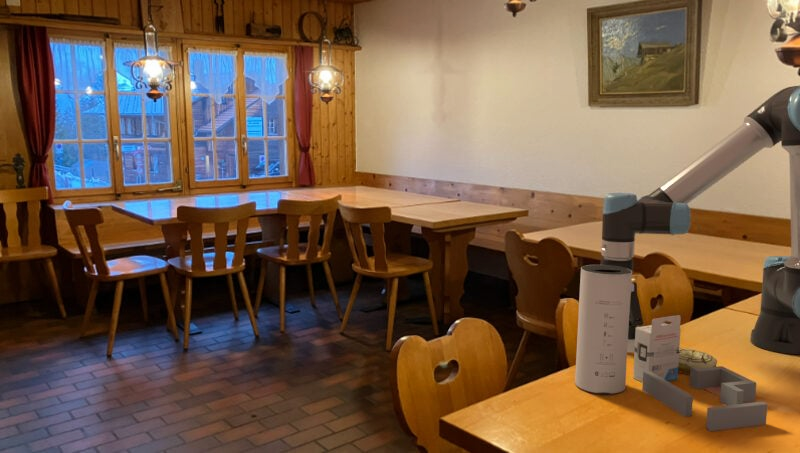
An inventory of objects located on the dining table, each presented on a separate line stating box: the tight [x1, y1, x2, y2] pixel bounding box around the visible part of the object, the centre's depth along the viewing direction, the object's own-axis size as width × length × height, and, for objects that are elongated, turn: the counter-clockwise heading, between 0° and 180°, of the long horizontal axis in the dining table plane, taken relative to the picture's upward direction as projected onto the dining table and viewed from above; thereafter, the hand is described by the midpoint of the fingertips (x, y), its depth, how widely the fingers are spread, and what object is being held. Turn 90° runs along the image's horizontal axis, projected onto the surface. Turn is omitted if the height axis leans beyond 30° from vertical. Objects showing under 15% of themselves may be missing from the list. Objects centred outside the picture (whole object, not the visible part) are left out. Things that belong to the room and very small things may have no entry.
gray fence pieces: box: [641, 365, 768, 432], centre depth 137 cm, size 18×21×4 cm
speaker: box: [574, 264, 633, 396], centre depth 145 cm, size 11×10×26 cm
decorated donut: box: [678, 348, 718, 375], centre depth 157 cm, size 10×11×4 cm
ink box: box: [632, 314, 682, 383], centre depth 150 cm, size 9×5×15 cm, turn 114°
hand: (613, 343), depth 167 cm, fingers open, 13 cm apart
